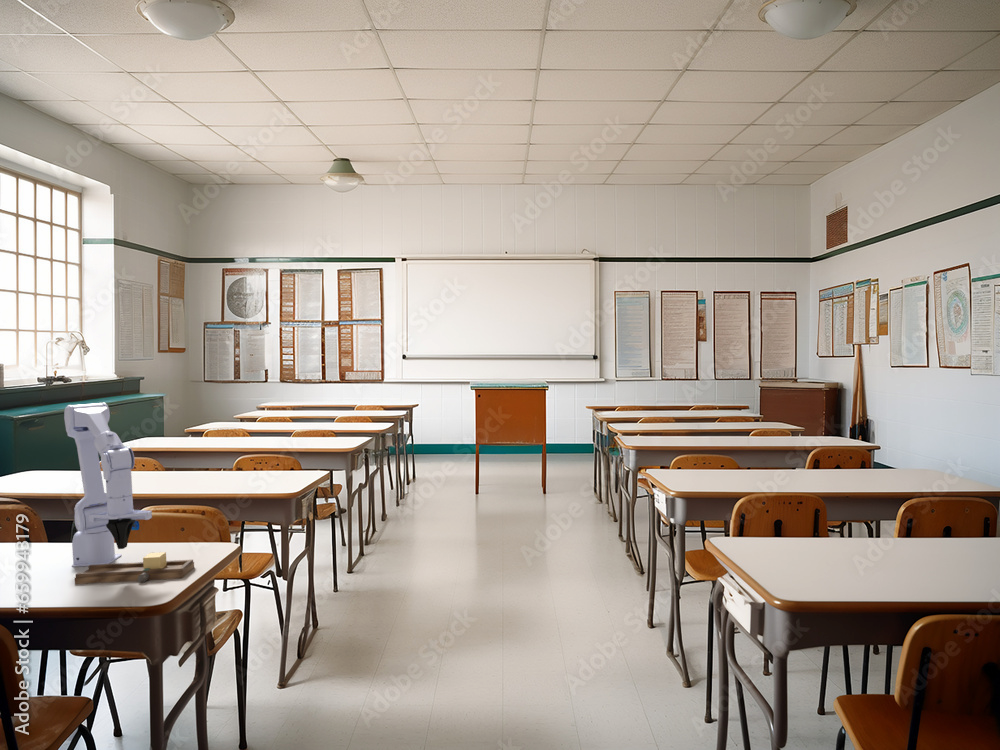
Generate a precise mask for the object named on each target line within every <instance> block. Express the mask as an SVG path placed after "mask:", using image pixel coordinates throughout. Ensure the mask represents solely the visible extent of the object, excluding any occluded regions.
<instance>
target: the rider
mask: <svg viewBox="0 0 1000 750" xmlns="http://www.w3.org/2000/svg"><path fill="white" fill-rule="evenodd" d="M166 561H167V552H166V551H164V552H163V551H162V552H161V551H160V552H150V553H148V554H146V555H145V556H144V557H142V562H143V567H144V569H145V568H150V569H160V568H164V567H165V566H166V565H167V563H166Z"/></svg>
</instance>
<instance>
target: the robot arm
mask: <svg viewBox="0 0 1000 750" xmlns="http://www.w3.org/2000/svg"><path fill="white" fill-rule="evenodd" d="M63 414H64V416H63V418H64V425H65V431H66V434H67V437H70V438H73V439H74V441H75V445H76V448H77V449H76V450H77V455H78V463H79V467H80V468H79V469H80V474H81V481H82V488H83V493H84V496H83V497H82V498H81V499H80V500H79V501H78V502H77V503H76V504H75V506H74V508H73V509H74V524H75V528H76V530H77V532H75V533H74V535H73V538H72V541H71V545H72V546H71V547H72V565H71V567H75V568H77V567H88V566H90V565H98V564H112V563H113V562H114V561H116V560H117V559H119V558H120V557H122V554H121V553H117V554H115V553H116V551H115V544H116V547H117V549H118V550H124V549H126V548H127V547H128V543H129V539H130V534H131V531H132V529H133V526H134V524H135V523H136V521H137V520H145V521H148V520H150V519H153V515H152V514H153V513H152V512H153V511H152V510H145V509H143V510H142V509H134V499H133V497H134V496H133V483H132V482H133V481H132V479H133V478H132V470H133V469H134V468H135V455H134V454H135V453H134V451H133V449H132V447H129V446H127V445H126V446H125V445H124V443H123V442H122V440H121V438H120V437H119V436H118V434H117V433H116V432H115V431H111V428H110V427H109V425H108V423H109V422H110V419H111V415H110V414H111V413H110V408H109V405H108V404H107V403H106V402H99V403H98V402H97V403H86V404H83V403H82V404H68V405H66V407H65V408H64V412H63ZM99 457H100V458H99ZM102 473H103V475H102ZM103 479H104V480H105V488H104V483H103Z"/></svg>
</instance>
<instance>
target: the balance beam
mask: <svg viewBox="0 0 1000 750" xmlns="http://www.w3.org/2000/svg"><path fill="white" fill-rule="evenodd" d="M166 563H167V565H166V566H165V567H164V568H160V569H150V568H145V569H144V567H143V561H139V562H138V561H137V562H124V563H123V562H121V563H119V562H118V563H110V564H98V565H90V566H87V567H88V569H87V570H85V571H83V572H76V573H75V577H74V585H81V584H83V585H84V584H96V583H97V584H99V583H118V582H135V581H137V582H139V583H141V584H142V583H145V582H147V581H153V580H168V579H169V580H171V579H172V580H173V579H183V578H184V577H185V576H187V575H188V574H189V573H190V572H191V571H192V570H193V569H194V568H195V561H194V559H179V560H176V559H175V560H166Z"/></svg>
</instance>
